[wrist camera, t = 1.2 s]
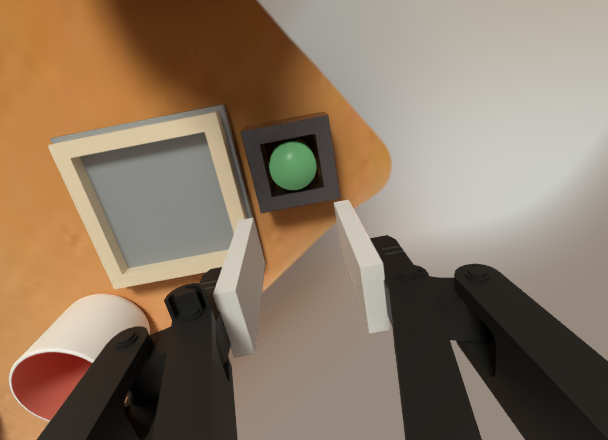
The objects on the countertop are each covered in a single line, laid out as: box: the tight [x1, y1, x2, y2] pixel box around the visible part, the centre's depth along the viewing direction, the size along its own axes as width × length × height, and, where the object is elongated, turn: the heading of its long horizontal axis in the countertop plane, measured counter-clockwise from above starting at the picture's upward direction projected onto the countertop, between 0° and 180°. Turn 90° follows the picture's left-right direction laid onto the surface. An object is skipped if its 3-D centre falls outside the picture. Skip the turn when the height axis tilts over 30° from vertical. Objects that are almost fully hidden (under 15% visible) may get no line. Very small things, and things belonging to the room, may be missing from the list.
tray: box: [47, 104, 263, 289], centre depth 35 cm, size 17×17×3 cm
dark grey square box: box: [241, 112, 340, 213], centre depth 34 cm, size 8×8×4 cm
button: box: [269, 138, 316, 190], centre depth 33 cm, size 4×4×3 cm
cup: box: [9, 294, 150, 421], centre depth 38 cm, size 10×10×10 cm
